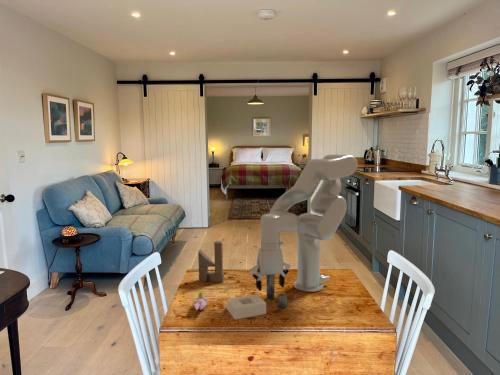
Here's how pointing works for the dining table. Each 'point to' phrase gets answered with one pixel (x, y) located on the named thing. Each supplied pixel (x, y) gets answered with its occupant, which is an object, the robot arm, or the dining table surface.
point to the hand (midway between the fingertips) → (270, 287)
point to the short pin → (282, 301)
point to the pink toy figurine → (200, 302)
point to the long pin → (270, 286)
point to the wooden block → (211, 265)
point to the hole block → (246, 306)
